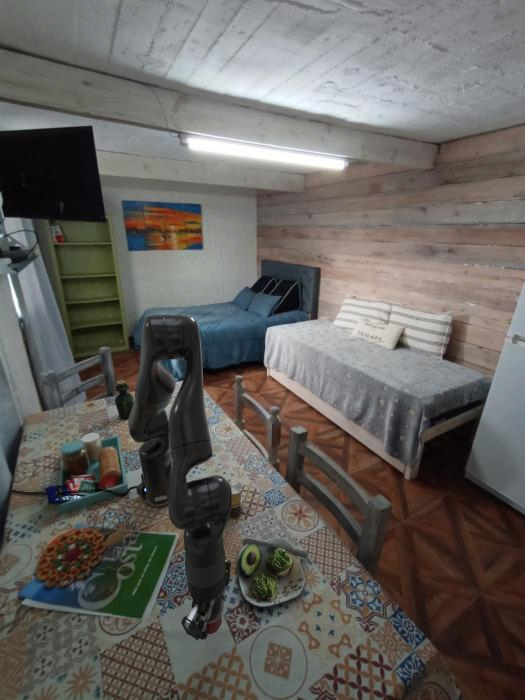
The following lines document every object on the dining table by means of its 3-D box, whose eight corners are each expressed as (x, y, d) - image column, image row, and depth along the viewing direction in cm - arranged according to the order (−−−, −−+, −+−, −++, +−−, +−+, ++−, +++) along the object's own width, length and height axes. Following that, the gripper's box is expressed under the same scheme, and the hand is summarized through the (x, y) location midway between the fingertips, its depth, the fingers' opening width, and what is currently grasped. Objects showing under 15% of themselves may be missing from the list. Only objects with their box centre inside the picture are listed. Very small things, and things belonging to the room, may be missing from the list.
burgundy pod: (191, 628, 65) (190, 613, 63) (207, 601, 70) (206, 586, 68) (214, 643, 63) (213, 628, 61) (229, 614, 67) (228, 599, 66)
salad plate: (298, 532, 93) (298, 520, 91) (322, 596, 77) (323, 584, 75) (232, 545, 89) (232, 534, 87) (243, 617, 73) (243, 604, 71)
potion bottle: (139, 412, 153) (134, 378, 146) (129, 421, 145) (123, 387, 139) (124, 410, 154) (118, 377, 148) (114, 419, 147) (107, 385, 140)
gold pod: (221, 502, 97) (220, 490, 95) (230, 490, 101) (230, 477, 100) (237, 509, 95) (236, 496, 93) (245, 496, 99) (245, 483, 97)
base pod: (221, 514, 99) (220, 502, 97) (230, 501, 103) (230, 489, 101) (237, 521, 96) (236, 509, 95) (245, 507, 101) (245, 495, 99)
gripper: (211, 527, 67) (214, 579, 74) (164, 593, 55) (173, 649, 62) (241, 541, 64) (243, 594, 71) (199, 615, 52) (205, 671, 59)
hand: (210, 619), depth 66 cm, fingers closed on burgundy pod, 5 cm apart
